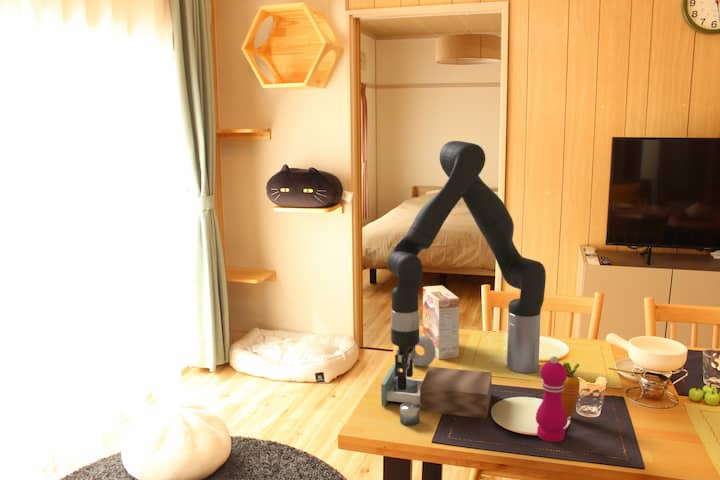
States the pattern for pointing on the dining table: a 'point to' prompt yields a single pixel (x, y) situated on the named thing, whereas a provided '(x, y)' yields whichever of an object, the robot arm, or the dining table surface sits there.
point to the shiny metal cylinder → (409, 414)
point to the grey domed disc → (407, 386)
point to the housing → (456, 392)
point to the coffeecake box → (441, 320)
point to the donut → (425, 352)
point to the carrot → (570, 389)
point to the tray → (390, 395)
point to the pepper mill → (552, 402)
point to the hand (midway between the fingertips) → (405, 382)
